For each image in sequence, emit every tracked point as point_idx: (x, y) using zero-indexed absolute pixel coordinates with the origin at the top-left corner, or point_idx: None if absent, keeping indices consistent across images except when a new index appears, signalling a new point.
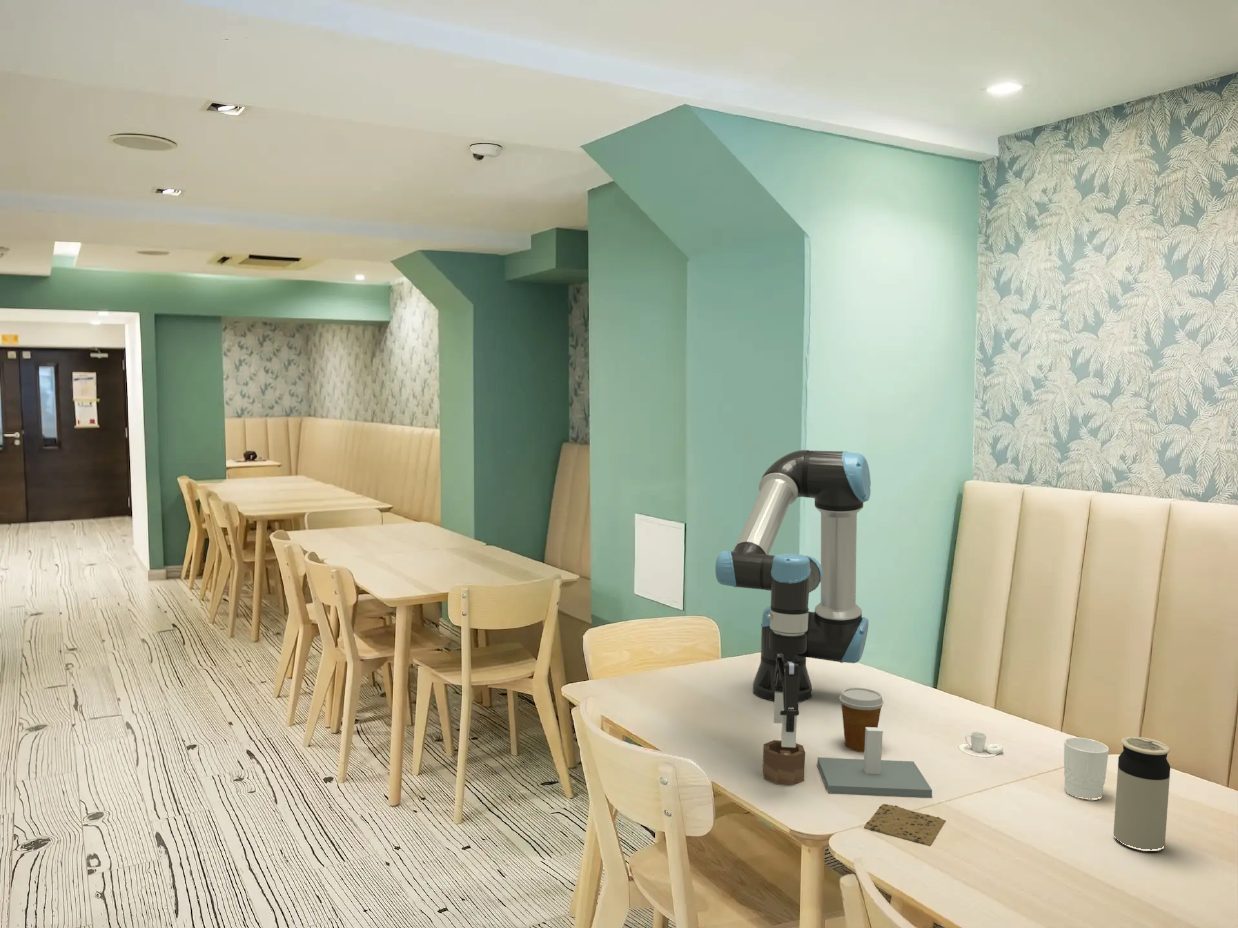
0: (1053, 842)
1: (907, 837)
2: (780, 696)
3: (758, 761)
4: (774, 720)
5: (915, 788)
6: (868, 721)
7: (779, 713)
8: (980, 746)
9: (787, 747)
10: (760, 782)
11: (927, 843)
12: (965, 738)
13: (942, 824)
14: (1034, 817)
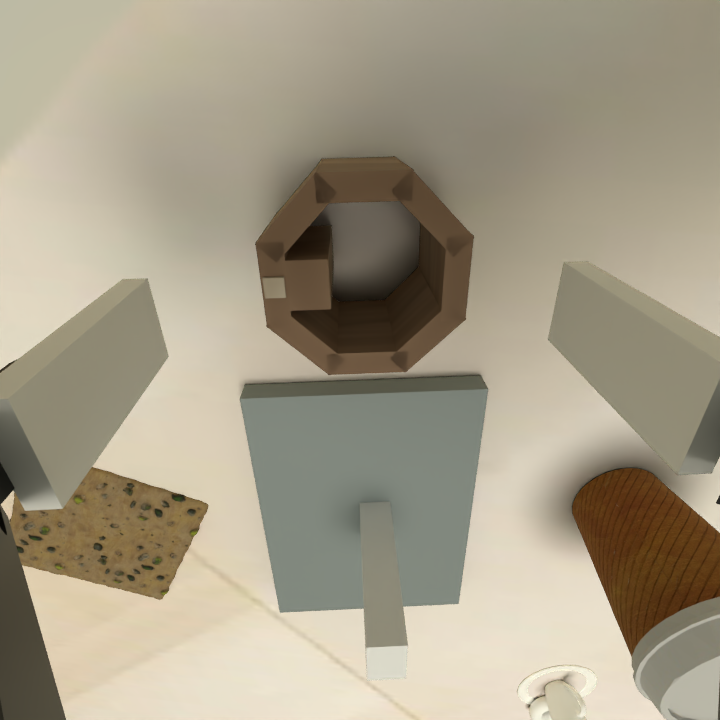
0: (133, 706)
1: (12, 529)
2: (674, 392)
3: (513, 144)
4: (572, 269)
5: (280, 586)
6: (613, 606)
7: (589, 319)
8: (547, 703)
9: (436, 297)
10: (281, 137)
11: None
12: (578, 699)
13: (134, 591)
14: (232, 702)
